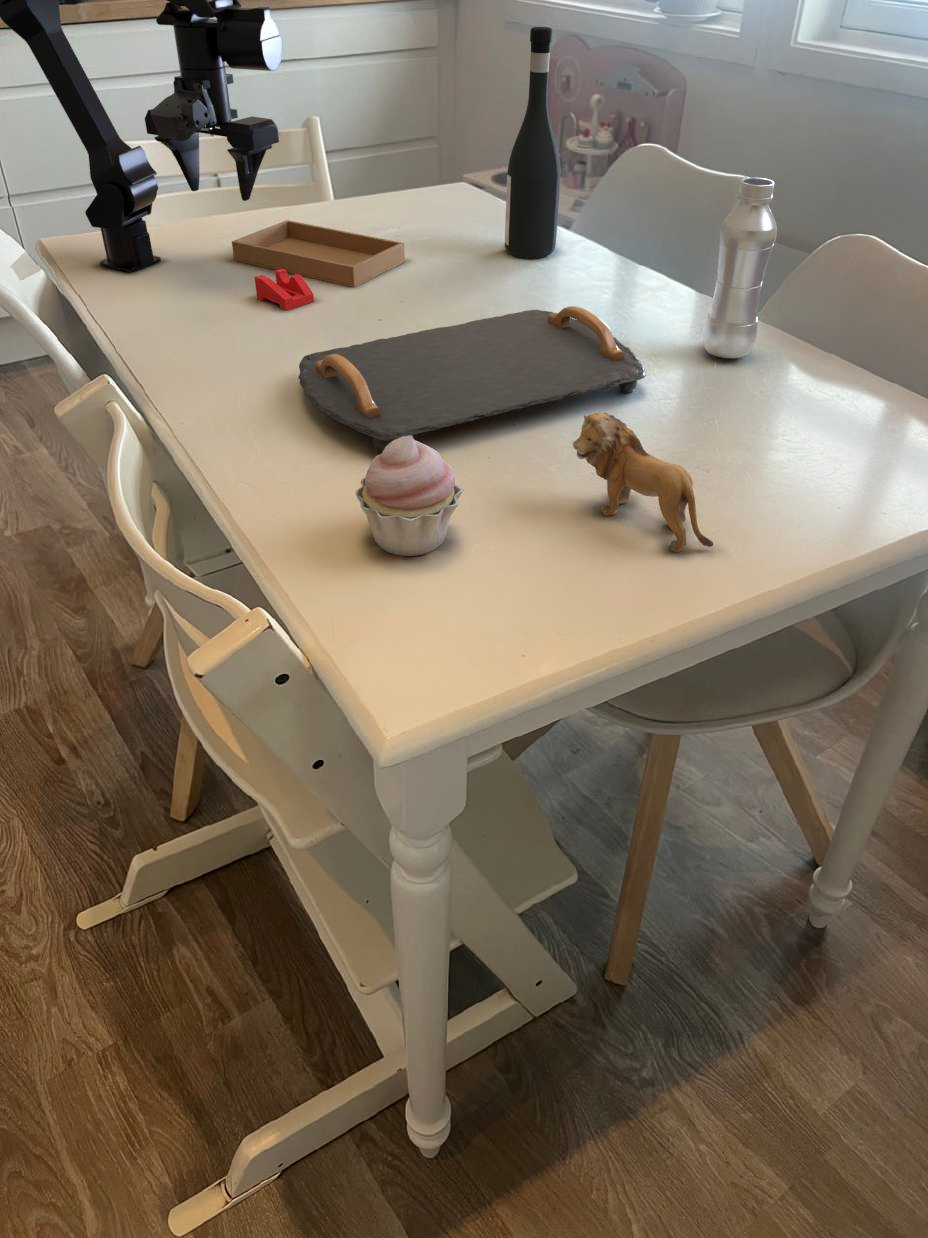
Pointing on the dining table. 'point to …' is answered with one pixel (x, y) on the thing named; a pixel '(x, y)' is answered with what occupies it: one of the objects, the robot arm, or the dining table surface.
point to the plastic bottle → (741, 271)
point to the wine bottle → (534, 165)
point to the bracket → (284, 290)
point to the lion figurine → (637, 473)
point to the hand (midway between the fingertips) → (220, 195)
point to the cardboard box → (319, 252)
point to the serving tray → (466, 372)
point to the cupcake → (409, 497)
